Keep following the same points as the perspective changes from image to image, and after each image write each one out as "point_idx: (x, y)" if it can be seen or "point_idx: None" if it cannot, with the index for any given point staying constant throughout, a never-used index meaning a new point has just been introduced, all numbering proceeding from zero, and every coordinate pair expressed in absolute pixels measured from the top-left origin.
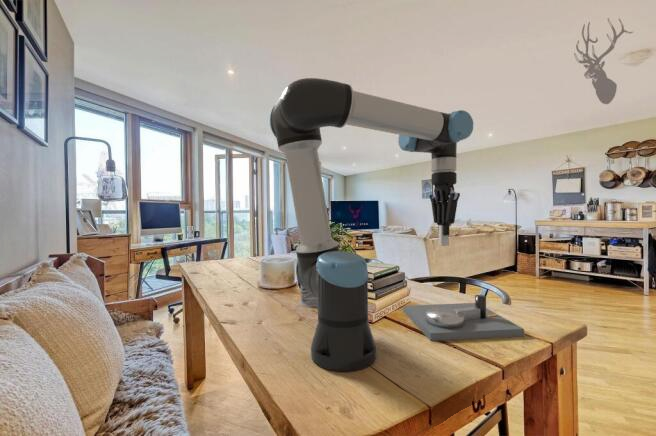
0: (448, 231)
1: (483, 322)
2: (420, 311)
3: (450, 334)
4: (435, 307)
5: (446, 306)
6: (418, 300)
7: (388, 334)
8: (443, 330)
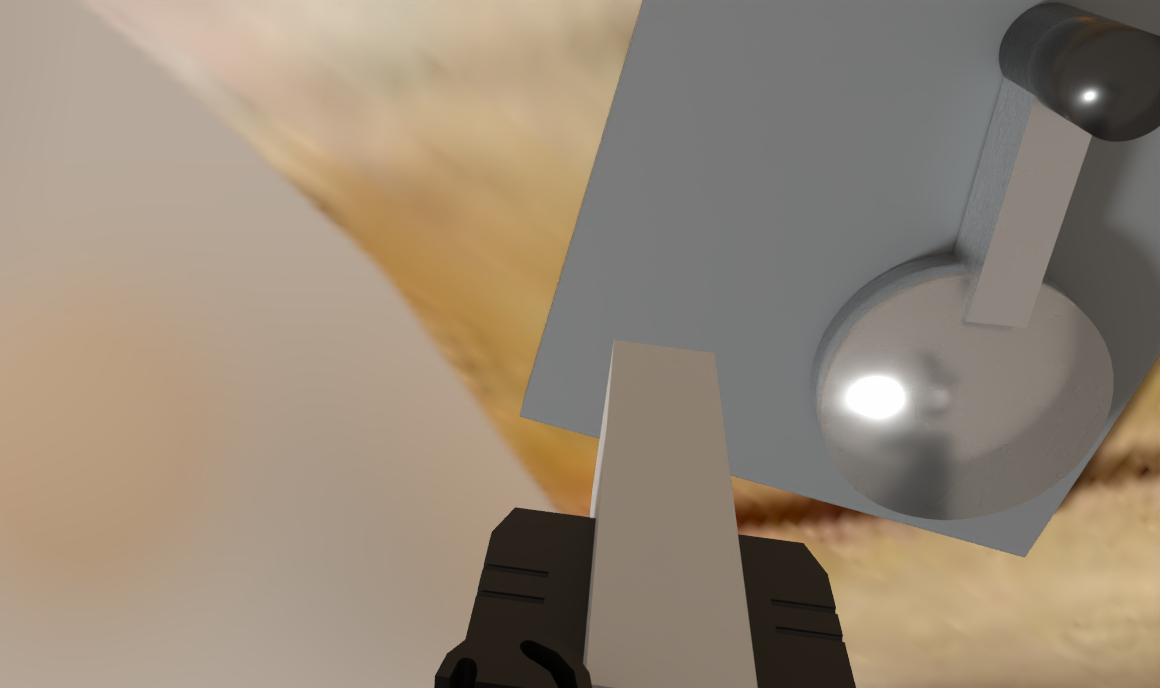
0: (832, 644)
1: None
2: None
3: None
4: (831, 385)
5: (685, 116)
6: (294, 102)
7: None
8: None
